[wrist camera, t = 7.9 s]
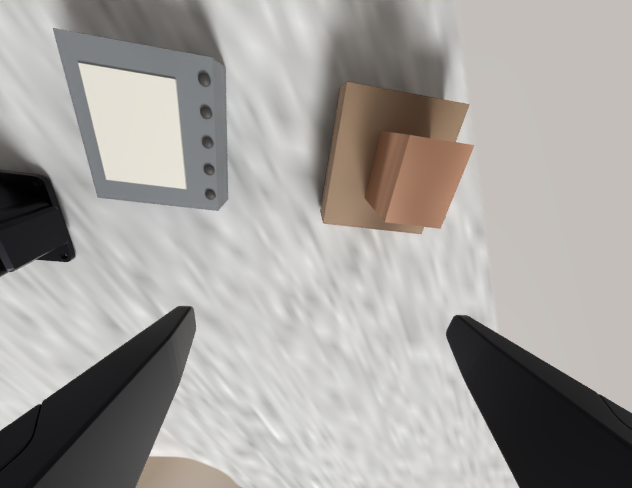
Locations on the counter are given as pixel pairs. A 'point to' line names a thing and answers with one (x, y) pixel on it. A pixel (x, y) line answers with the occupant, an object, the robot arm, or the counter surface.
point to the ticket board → (149, 120)
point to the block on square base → (393, 160)
